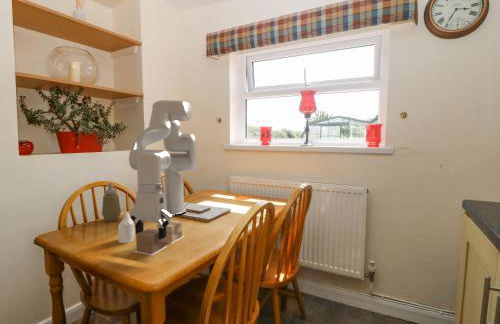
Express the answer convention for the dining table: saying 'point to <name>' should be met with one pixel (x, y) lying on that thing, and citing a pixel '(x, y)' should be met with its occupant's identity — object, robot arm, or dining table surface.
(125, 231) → the white bottle
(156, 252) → the build board
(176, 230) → the oak block
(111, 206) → the squeeze bottle
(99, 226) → the dining table surface
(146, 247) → the walnut block
